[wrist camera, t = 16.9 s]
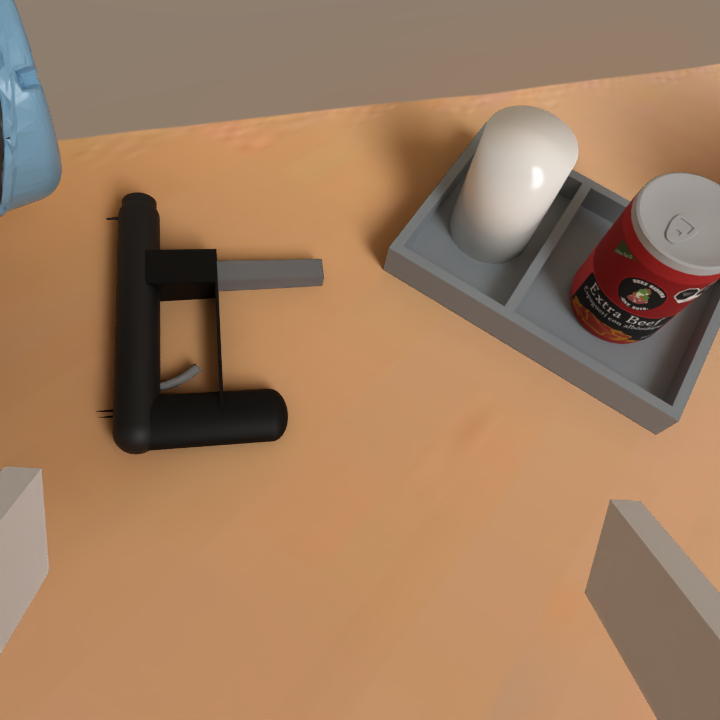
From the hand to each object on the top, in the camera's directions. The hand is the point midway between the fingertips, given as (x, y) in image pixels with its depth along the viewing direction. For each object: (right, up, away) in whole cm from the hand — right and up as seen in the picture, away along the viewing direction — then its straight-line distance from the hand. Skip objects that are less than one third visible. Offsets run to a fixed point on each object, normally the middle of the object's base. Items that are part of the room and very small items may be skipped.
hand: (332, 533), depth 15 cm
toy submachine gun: (-10, +7, +33) cm, 35 cm away
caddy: (+17, +11, +37) cm, 42 cm away
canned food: (+21, +8, +36) cm, 43 cm away
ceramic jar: (+11, +15, +38) cm, 42 cm away
